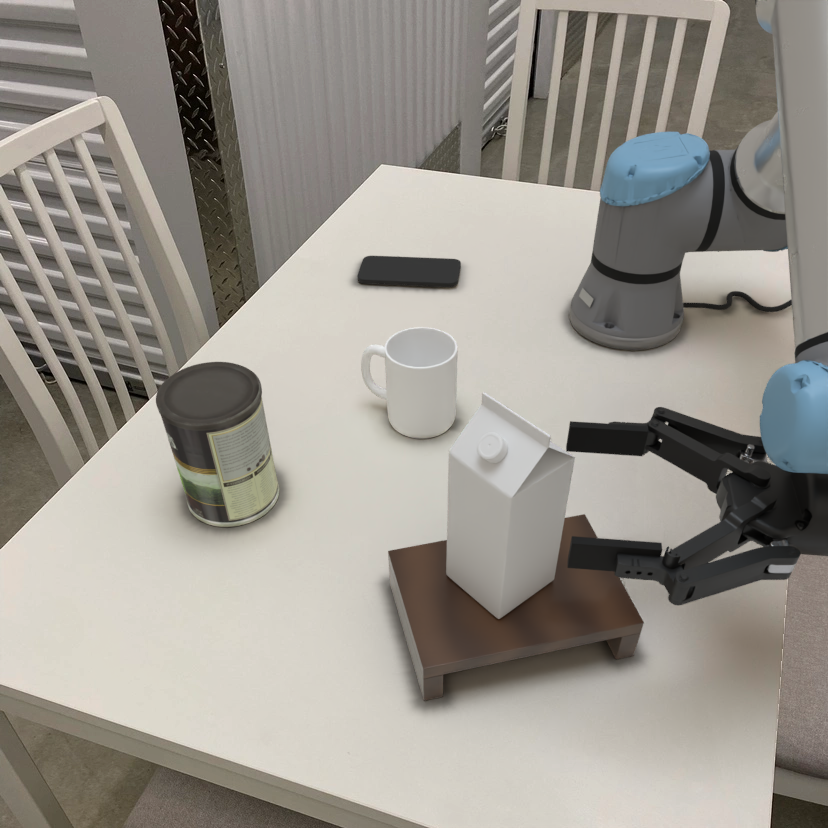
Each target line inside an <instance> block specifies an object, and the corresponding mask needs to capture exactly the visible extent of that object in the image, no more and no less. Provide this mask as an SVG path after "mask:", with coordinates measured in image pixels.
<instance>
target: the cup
mask: <svg viewBox="0 0 828 828" xmlns="http://www.w3.org/2000/svg"><path fill="white" fill-rule="evenodd" d="M384 343H385V344H384V345H382V344H376V343H375V344H373V343H372V344H370V345H368V346H366V347H365V349H364V350H363V352H362V355H361V360H360V371H361V376H362V379H363V382H364V384H365V386H366V388H367V389H368V391H370V392H371V393H372V394H373V395H375V396H376V397H378V398H381V399H383V400H386V408H387V418H388V422H389V423H390V425H391V427H392V428H393V429H394V430H395V431H396V432H398V433H399V434H400V435H403V436H404V437H407V438H408V437H409V438H412V439H430V438H431V439H432V438H435V437H438V436H440V435H442V434H444V433H445V432H448V430H449V429H450V428H451V427H452V426H453V424H454V423H455V420H456V415H457V395H458V394H457V392H458V391H457V389H458V388H457V387H458V352H459V347H458V342H457V341H456V339H455V338H454V337H453V336H452V335H451V334H450V333H448V332H447V331H444V330H442V329H439V328H435V327H430V326H429V327H428V326H415V327H408V328H405V329H404V328H403V329H402V330H399V331H396V332H394V333H393V334H392V335H390V336H389V337H388V338H387V340H386V341H385V342H384ZM373 355H375V356H379V357H380V358H384V370H385V371H384V372H385V387H383V386H380V385H378V384H377V383H376V382H375V381H374V379H373V376H372V374H371V360H372V356H373Z"/></svg>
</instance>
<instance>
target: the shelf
mask: <svg viewBox="0 0 828 828" xmlns="http://www.w3.org/2000/svg"><path fill="white" fill-rule="evenodd" d="M572 536H576V537H590V538H599V537H598V536H597V533H596V532H595V530H594V528H593V526H592V525H591V523H590V520H589V519H588V517H587V515H586V513H583V514H579V515H578V514H577V515H572V516H568V517H565V519H564V525H563V531H562V536H561V542H560V548H559V554H558V560H557V566H556V572H555V577H554V580H553V581H552V582H550V583H549V584H547V585H546V586H545V587H543V588H542V589H541V590H539V591H538V592H536V593H535V594H534V595H532V596H531V597H529V598H528V599H527V600H525V601H524V602H523V603H521V604H520V605H518V606H517V607H516V608H514V609H513V610H511V611H510V612H509V613H507V614H506V615H504V616H503V617H502V618H500V619H498V618H496V617H495V616H494V615H493V614H491V613H490V612H489V611H488V610H487V609H486V608H484V607H483V606H482V605H481V604H480V603H479V602H477V601H476V600H475V599H474V598H473V597H472V596H470V595H469V594H468V593H467V592H466V591H465V590H463V589H462V588H461V587H460V586H459V585H458V584H456V583H455V582H454V581H453V580H452V579H451V578H449V577H448V576H447V574H446V559H447V539H444V540H439V541H432V542H428V543H422V544H417V545H412V546H406V547H402V548H401V547H400V548H396V549H391V550H387V557H388V575H389V586H390V590H391V593H392V596H393V600H394V603H395V607H396V610H397V613H398V617H399V621H400V624H401V628H402V631H403V634H404V638H405V642H406V645H407V648H408V651H409V654H410V660H411V662H412V666H413V669H414V673H415V676H416V679H417V683H418V687H419V690H420V693H421V697H422V700H423V701H429V700H433V699H438V698H442V697H444V675H447V674H452V673H457V672H461V671H467V670H471V669H475V668H481V667H485V666H490V665H495V664H500V663H503V662H504V663H505V662H508V661H513V660H514V661H515V660H519V659H524V658H527V657H532V656H538V655H541V654H546V653H552V652H556V651H561V650H565V649H566V650H567V649H570V648H575V647H580V646H584V645H590V644H594V643H598V642H603V641H606V643H607V645H608V647H609V649H610V650H611V653H612V655H613V657H614V659H615V660H621V659H624V658H629V657H634V656H635V653H636V650H637V646H638V643H639V640H640V637H641V633H642V631H643V627H644V624H645V623H644V620H643V618H642V616H641V615H640V613H639V611H638V609H637V607H636V605H635V604H634V601H633V600H632V598H631V596H630V594H629V593H628V590H627V589H626V587H625V585H624V583H623V581H622V580H621V578H620V577H617V576H615V573H614V571H601V570H588V569H575V568H567V560H568V555H569V549H570V544H571V538H572Z"/></svg>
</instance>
